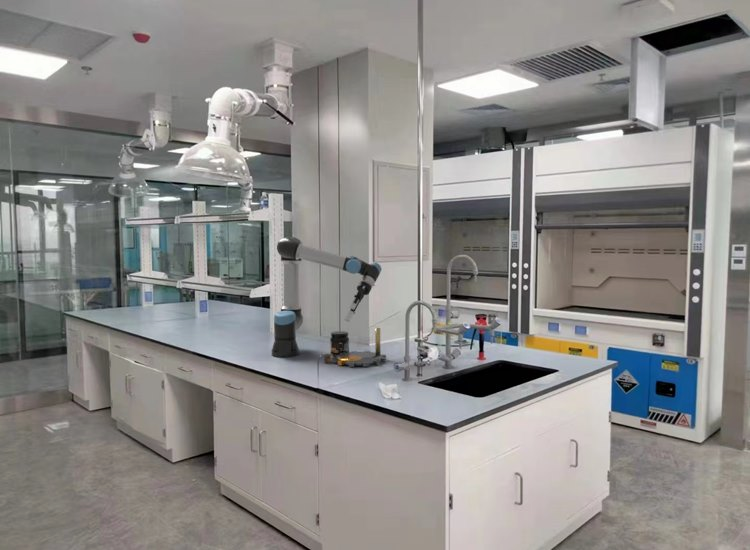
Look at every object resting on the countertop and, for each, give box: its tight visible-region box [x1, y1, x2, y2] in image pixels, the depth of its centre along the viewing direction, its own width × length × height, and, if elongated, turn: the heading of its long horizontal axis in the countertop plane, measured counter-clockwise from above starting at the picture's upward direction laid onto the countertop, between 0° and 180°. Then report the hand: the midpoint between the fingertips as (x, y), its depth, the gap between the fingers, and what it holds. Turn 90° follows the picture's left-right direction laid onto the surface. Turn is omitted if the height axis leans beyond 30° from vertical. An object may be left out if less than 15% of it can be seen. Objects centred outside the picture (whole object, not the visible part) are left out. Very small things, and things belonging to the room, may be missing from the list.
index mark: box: [324, 353, 332, 364], centre depth 267 cm, size 3×4×4 cm
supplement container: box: [329, 330, 350, 356], centre depth 286 cm, size 10×10×12 cm
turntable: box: [332, 327, 387, 368], centre depth 268 cm, size 28×28×16 cm
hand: (349, 314), depth 276 cm, fingers open, 13 cm apart
